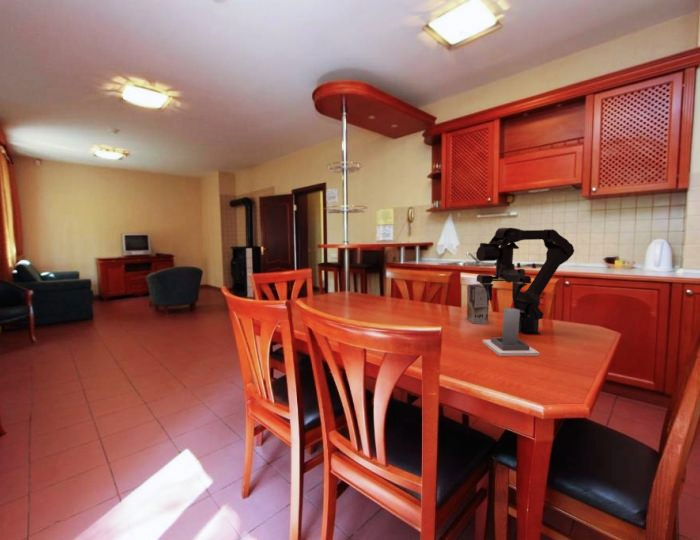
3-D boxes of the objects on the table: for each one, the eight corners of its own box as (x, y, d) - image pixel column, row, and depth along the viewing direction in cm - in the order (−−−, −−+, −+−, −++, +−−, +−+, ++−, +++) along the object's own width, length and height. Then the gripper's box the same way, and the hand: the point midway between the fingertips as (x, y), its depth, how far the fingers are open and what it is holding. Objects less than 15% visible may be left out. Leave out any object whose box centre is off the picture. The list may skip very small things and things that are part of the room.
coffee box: (488, 324, 143) (490, 287, 141) (473, 323, 143) (475, 287, 141) (480, 318, 152) (482, 283, 150) (466, 318, 152) (467, 283, 150)
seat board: (518, 342, 119) (518, 335, 119) (539, 355, 106) (539, 348, 106) (482, 342, 119) (482, 335, 118) (499, 355, 106) (499, 348, 106)
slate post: (506, 342, 116) (509, 307, 114) (520, 346, 111) (522, 310, 110) (498, 344, 113) (501, 309, 112) (511, 349, 109) (514, 312, 108)
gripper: (489, 262, 118) (487, 305, 120) (541, 262, 118) (538, 305, 120) (476, 260, 129) (475, 299, 131) (524, 260, 129) (521, 299, 131)
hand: (502, 300), depth 128 cm, fingers open, 9 cm apart
